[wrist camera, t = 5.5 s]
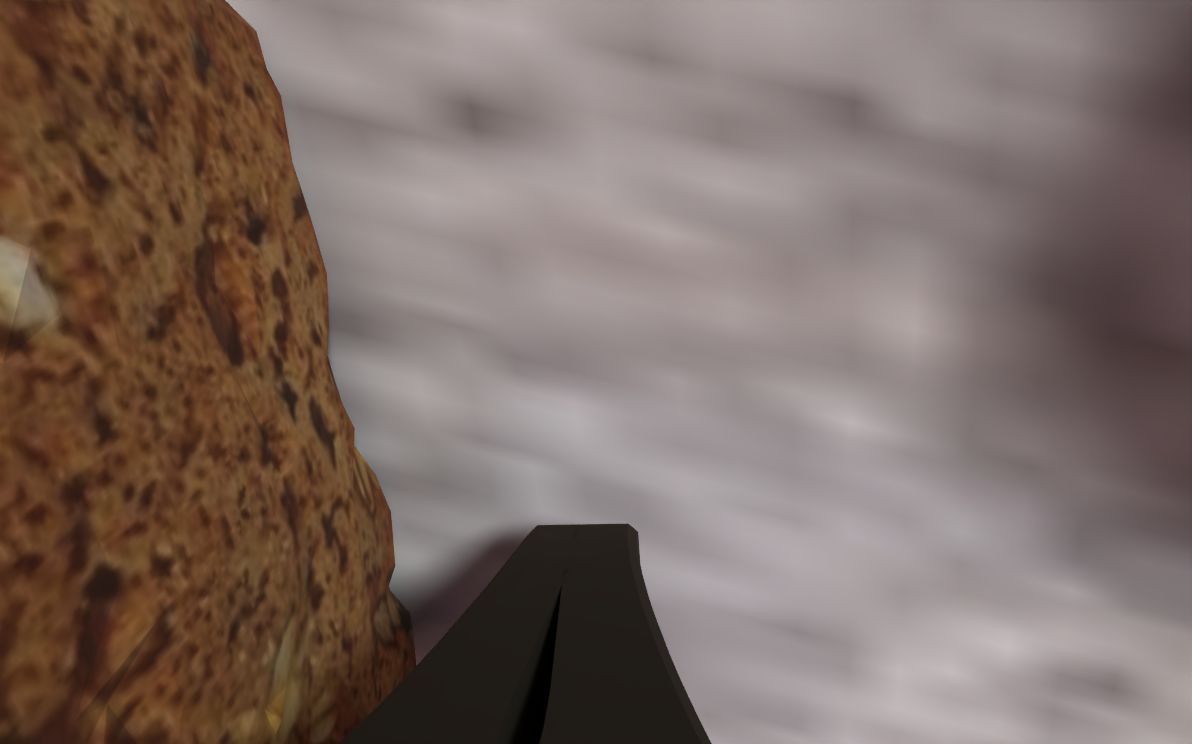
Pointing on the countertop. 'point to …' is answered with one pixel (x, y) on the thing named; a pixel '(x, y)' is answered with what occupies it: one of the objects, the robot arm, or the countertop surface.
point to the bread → (172, 401)
